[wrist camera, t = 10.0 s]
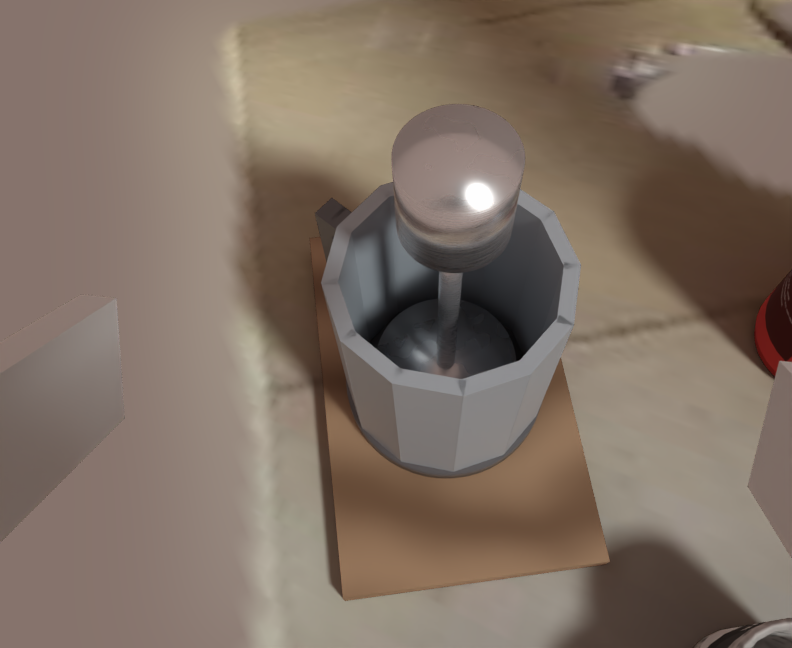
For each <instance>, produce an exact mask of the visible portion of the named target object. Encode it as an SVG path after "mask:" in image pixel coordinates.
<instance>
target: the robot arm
mask: <svg viewBox="0 0 792 648" xmlns="http://www.w3.org/2000/svg"><path fill="white" fill-rule="evenodd" d="M124 418H125V416H124V402H123V387H122V373H121V358H120V342H119V328H118V313H117V298H114V297H104V296H93V295H83V294H81V295H79V296H77V297H75V298H74V299H72V300H70V301H68V302H67V303H65V304H63V305H62V306H60V307H59V308H57V309H55V310H53V311H51V312H50V313H48V314H46V315H45V316H43V317H41V318H40V319H38V320H36V321H34V322H33V323H31V324H30V325H28V326H26V327H24V328H23V329H21V330H19V331H17V332H16V333H14V334H12V335H11V336H9V337H7V338H5V339H4V340H2V341H1V342H0V543H1V542H2V541H3V540H4V539H5V538H6V537H7V536H8V535H9V534H10V533H11V532H12V531H13V530H14V529H15V528H16V527H17V526H18V525H19V523H21V522H22V521H23V520H24V519H25V518H26V517H27V516H28V515H29V514H30V513H31V512H32V511H33V510H34V509H35V508H36V507H37V506H38V505H39V504H40V503H41V502H42V501H43V500H44V499H45V498H46V496H48V495H49V494H50V493H51V492H52V491H53V490H54V489H55V488H56V487H57V486H58V485H59V484H60V483H61V482H62V481H63V480H64V479H65V478H66V477H67V476H68V475H69V474H70V473H71V472H72V471H73V470H74V469H75V468H76V467H77V466H78V464H79V463H81V461H83V460H84V459H85V458H86V457H87V455H89V454H90V453H91V452H92V451H93V450H94V449H95V448H96V447H97V446H98V445H99V444H100V443H101V442H102V441H103V439H104V438H106V437H107V436H108V435H109V434H110V432H112V431H113V430H114V428H116V427H117V426H118V425H119V423H121V422H122V421H123V420H124ZM748 488H749V489H750V491H751V493H752V494H753V496H754V498H755V499H756V501H757V502H758V504H759V506H760V507H761V509H762V511H763V512H764V514H765V516H766V517H767V519H768V520H769V522H770V524H771V525H772V527H773V529H774V530H775V532H776V534H777V535H778V537H779V539H780V540H781V542H782V543H783V545H784V547H785V548H786V550H787V552H788V553H789V555H790V557H791V558H792V362H786V361H779V364H778V368H777V372H776V376H775V380H774V384H773V388H772V392H771V395H770V399H769V403H768V407H767V411H766V415H765V419H764V423H763V427H762V431H761V435H760V439H759V443H758V447H757V451H756V455H755V459H754V463H753V467H752V471H751V475H750V479H749V483H748Z"/></svg>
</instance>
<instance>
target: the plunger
mask: <svg viewBox="0 0 792 648" xmlns="http://www.w3.org/2000/svg"><path fill="white" fill-rule="evenodd" d="M524 166H525V151H524V147H523V143H522V141H521V139H520V137H519V135H518V133H517V132H516V130H515V129H514V128H513V127H512V126H511V125H510V124H509V123H508V122H507V121H506V120H505V119H503V118H502V117H501V116H499V115H497V114H496V113H494V112H492V111H490V110H487V109H485V108H481V107H478V106H473V105H467V104H449V105H442V106H438V107H434V108H431V109H428V110H426V111H424V112H422V113H420V114H418V115H417V116H415V117H414V118H412V119H411V120H410V121H409V122H408V123H407V124H406V125H405V126H404V127H403V128H402V129H401V131H400V132H399V134H398V135H397V137H396V139H395V142H394V145H393V149H392V174H393V189H394V204H395V220H396V230H397V235H398V238H399V240H400V243H401V245H402V246H403V248H404V249H405V251H406V252H407V253H408V254H409V255H410V256H411V257H412V258H413V259H414V260H415V261H417V262H418V263H420V264H421V265H423V266H425V267H427V268H430V269H433V270H435V271H439V292H438V299H431V300H427V301H422V302H420V303H417V304H415V305H413V306H411V307H409V308H407V309H405V310H404V311H402V312H401V313H400V314H398V315H397V316H396V317H395V318H394V319H393V320H392V321H391V322H390V324H389V325H388V326H387V328H386V329H385V331H384V332H383V334H382V336H381V338H380V340H379V344H378V347H377V350H378V351H380V352H381V353H382V354H383V355H384V356H386V357H387V358H388V359H389V360H391V361H392V362H393V363H394V364H396V365H397V366H398V367H399V368H401V369H407V370H412V371H418V372H423V373H429V374H435V375H440V376H446V377H451V378H457V379H464V378H467V377H470V376H473V375H476V374H479V373H483V372H486V371H489V370H492V369H495V368H498V367H501V366H504V365H507V364H510V363H513V362H516V354H515V350H514V346H513V343H512V340H511V338H510V336H509V334H508V332H507V331H506V329H505V328H504V327H503V325H502V324H501V323H500V322H499V321H498V320H497V319H496V318H495V317H494V316H493V315H492V314H491V313H489V312H488V311H486V310H485V309H483V308H481V307H479V306H477V305H475V304H473V303H470V302H467V301H463V300H460V298H461V287H462V276H463V273H465V272H470V271H474V270H477V269H480V268H482V267H484V266H486V265H488V264H489V263H491V262H492V261H494V260H495V259H496V258H497V257H498V256H499V255H500V254H501V253H502V252H503V251H504V249H505V248H506V246H507V244H508V242H509V240H510V237H511V233H512V229H513V223H514V218H515V213H516V208H517V203H518V197H519V192H520V187H521V182H522V176H523V171H524Z"/></svg>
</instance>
